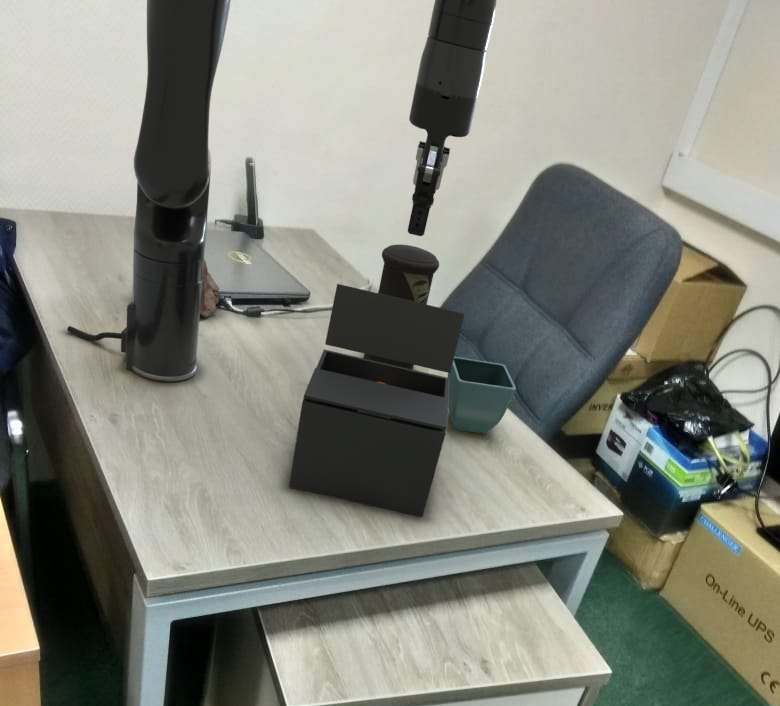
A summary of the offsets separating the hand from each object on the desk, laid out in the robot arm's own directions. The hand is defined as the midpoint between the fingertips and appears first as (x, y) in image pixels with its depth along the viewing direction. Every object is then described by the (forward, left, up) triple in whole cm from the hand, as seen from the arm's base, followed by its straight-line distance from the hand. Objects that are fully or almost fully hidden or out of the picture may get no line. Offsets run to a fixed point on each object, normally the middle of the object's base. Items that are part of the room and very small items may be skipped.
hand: (415, 233), depth 105 cm
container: (0, +18, -27) cm, 32 cm away
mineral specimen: (-38, +24, -27) cm, 52 cm away
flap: (0, -7, -11) cm, 13 cm away
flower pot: (+14, +4, -27) cm, 31 cm away
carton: (0, -16, -27) cm, 32 cm away
